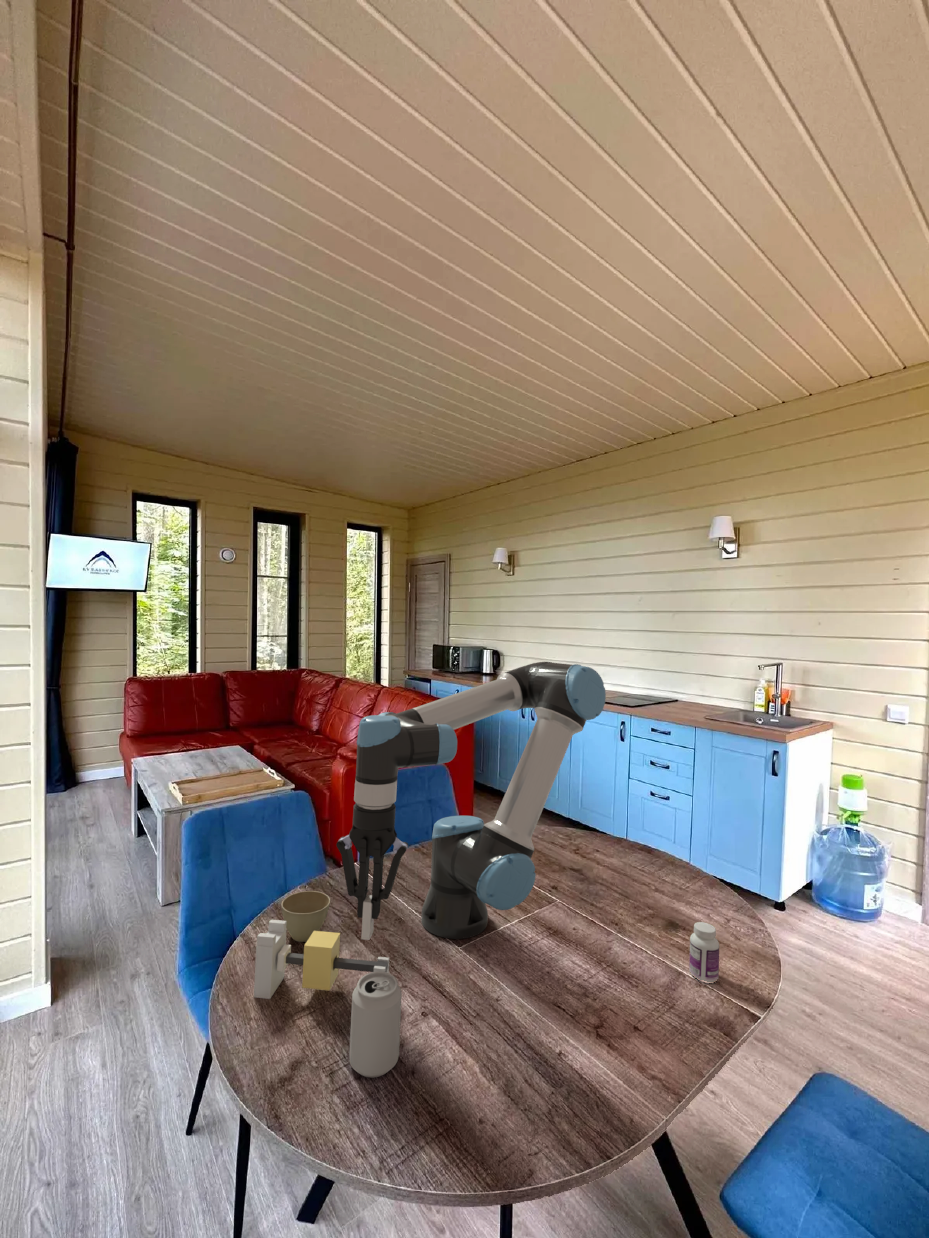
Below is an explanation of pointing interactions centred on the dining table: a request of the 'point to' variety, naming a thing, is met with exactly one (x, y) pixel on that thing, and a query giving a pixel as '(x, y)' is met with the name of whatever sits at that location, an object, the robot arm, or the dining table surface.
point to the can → (375, 1024)
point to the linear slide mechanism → (292, 960)
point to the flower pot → (305, 913)
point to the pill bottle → (704, 952)
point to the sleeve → (320, 960)
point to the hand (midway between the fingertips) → (367, 935)
